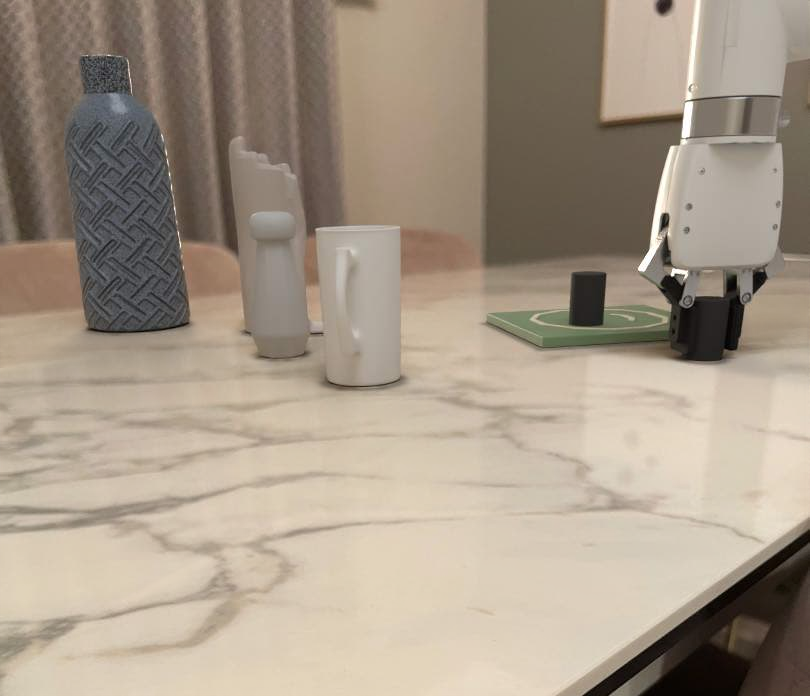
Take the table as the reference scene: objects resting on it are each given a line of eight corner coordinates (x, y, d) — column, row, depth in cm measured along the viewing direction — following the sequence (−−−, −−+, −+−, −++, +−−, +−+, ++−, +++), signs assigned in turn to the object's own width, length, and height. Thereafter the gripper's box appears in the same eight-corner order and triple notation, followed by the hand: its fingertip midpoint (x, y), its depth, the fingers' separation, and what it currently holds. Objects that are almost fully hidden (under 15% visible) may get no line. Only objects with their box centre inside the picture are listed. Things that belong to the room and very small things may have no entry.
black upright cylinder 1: (594, 320, 92) (597, 270, 90) (608, 325, 89) (612, 273, 87) (563, 322, 91) (566, 272, 89) (576, 327, 88) (579, 275, 86)
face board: (642, 313, 103) (643, 303, 103) (725, 336, 87) (727, 325, 86) (486, 321, 99) (486, 311, 99) (542, 347, 83) (542, 336, 83)
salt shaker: (324, 351, 83) (316, 210, 78) (287, 361, 79) (276, 212, 74) (278, 347, 86) (267, 210, 81) (240, 356, 82) (226, 212, 77)
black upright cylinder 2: (709, 352, 79) (716, 295, 77) (731, 359, 76) (738, 300, 74) (674, 354, 78) (680, 297, 76) (694, 361, 75) (701, 301, 73)
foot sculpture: (363, 332, 93) (356, 132, 86) (239, 335, 94) (220, 135, 86) (368, 322, 100) (361, 135, 92) (251, 324, 100) (235, 138, 93)
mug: (336, 369, 75) (329, 225, 71) (410, 371, 74) (407, 225, 69) (301, 395, 66) (290, 233, 62) (385, 398, 65) (380, 232, 60)
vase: (136, 336, 94) (95, 46, 83) (64, 328, 100) (18, 57, 89) (212, 320, 104) (184, 58, 93) (142, 315, 110) (109, 68, 99)
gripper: (789, 128, 75) (759, 338, 82) (616, 129, 72) (600, 348, 79) (848, 122, 68) (809, 351, 75) (659, 123, 65) (638, 363, 72)
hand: (703, 347), depth 77 cm, fingers closed on black upright cylinder 2, 3 cm apart
